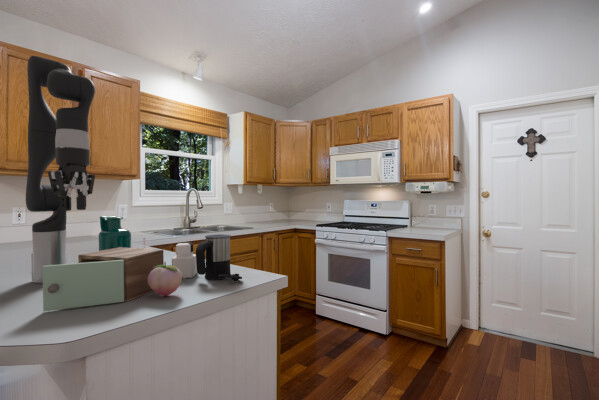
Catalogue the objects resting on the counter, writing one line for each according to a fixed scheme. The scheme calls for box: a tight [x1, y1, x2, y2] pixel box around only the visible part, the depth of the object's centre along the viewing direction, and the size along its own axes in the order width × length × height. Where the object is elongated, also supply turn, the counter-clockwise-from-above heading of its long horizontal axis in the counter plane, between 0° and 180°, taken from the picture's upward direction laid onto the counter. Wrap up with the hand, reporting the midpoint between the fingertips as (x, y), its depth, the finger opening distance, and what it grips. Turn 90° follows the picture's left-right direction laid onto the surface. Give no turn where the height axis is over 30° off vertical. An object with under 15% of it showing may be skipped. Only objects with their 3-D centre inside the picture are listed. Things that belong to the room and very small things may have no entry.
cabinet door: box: [42, 260, 125, 312], centre depth 80 cm, size 18×2×11 cm, turn 112°
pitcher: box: [98, 215, 132, 251], centre depth 111 cm, size 10×8×22 cm
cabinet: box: [77, 247, 165, 302], centre depth 94 cm, size 18×14×12 cm
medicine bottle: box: [171, 241, 198, 279], centre depth 112 cm, size 7×7×12 cm
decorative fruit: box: [148, 261, 183, 297], centre depth 89 cm, size 9×8×10 cm
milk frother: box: [195, 234, 243, 283], centre depth 107 cm, size 14×16×15 cm
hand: (73, 210), depth 84 cm, fingers open, 4 cm apart
